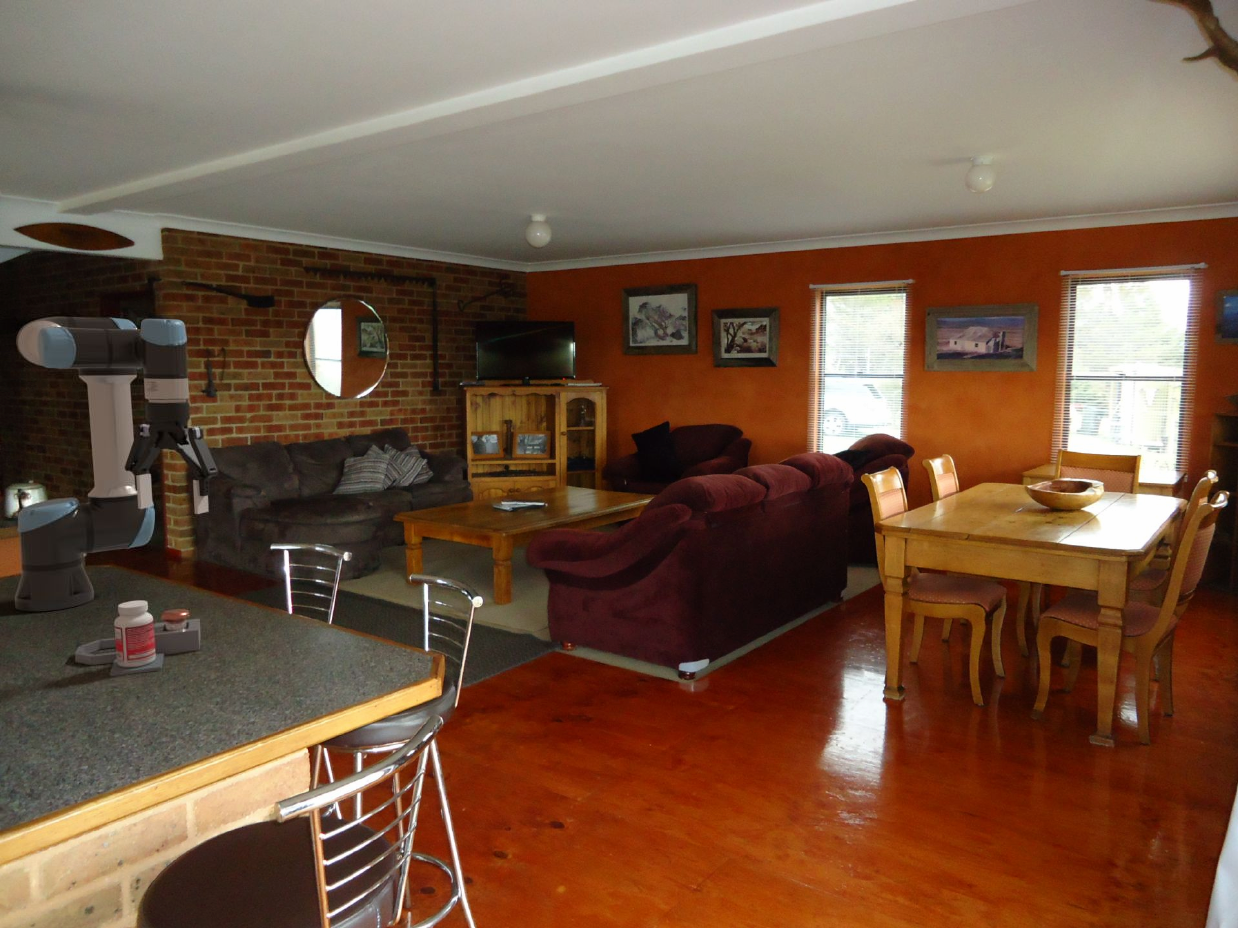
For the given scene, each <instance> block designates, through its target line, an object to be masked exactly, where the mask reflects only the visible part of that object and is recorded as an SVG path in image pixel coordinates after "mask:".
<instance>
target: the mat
mask: <svg viewBox="0 0 1238 928" xmlns="http://www.w3.org/2000/svg"><path fill="white" fill-rule="evenodd" d="M164 658H165V654H164V653H160V654H156V658H155V660H154V661H153V662H151V663H149V664H147V665H144V666H140V667H130V668H129V667H121V666H119V665H118V663H117V659H115V660H114V663H112V666H111V669H110V672H109V677H116V676H117V677H118V676H125V675H133V674H142V673H148V672H155V671H156V672H157V671H162V667H163V663H164Z"/></svg>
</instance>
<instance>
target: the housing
mask: <svg viewBox="0 0 1238 928" xmlns="http://www.w3.org/2000/svg"><path fill="white" fill-rule="evenodd" d="M200 621H201V619H200V618H191V619H186V626H187V629H180V630H171V631H166V625H165V621H163V622H156V623H154V622H153V624H154V639H155V653H156V654H160V653H164V655H171V654H172V655H173V654H180V653H189V652H195V651H200V648H201V639H202V636H201V622H200ZM112 648H116V638H115V637H112V638H111V637H109V638H102V639H97V640H94V641H91V642H88V643H86V644H82V645H79V646H78V647H77V649H76V650H75V652H74V658H75V659H74V661H75V663H78V664H85V665H90V666H96V665H102V664H103V665H104V664H113V663H114V660H115V659H117V653H116V651H115V652H107V653H97V654H93V653H94V652H96V651H100V650H104V649H112Z"/></svg>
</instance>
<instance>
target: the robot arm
mask: <svg viewBox="0 0 1238 928" xmlns="http://www.w3.org/2000/svg"><path fill="white" fill-rule="evenodd" d="M186 331H187V330H186V325H185V323H184V321H182V320H180V319H171V318H170V319H168V318H145V319H142V321H141V324H140V329H139V328H137V326H136V325H135V323H134V322H132V321H131V320H130V319H125V318H116V317H84V316H83V317H79V316H78V317H77V316H50V317H44V318H39V319H36V320H33V321H30V322H28V323H27V324H25V325H23V326H22V327H21V328H20V330H19V331H18V333H17V336H16V342H15V343H16V346H17V350H18V352H19V354H20V355H21V357H23V358H24V359H26V360H27V361H28V362H30V363H31V364H35V365H37V366H42V367H44V368H47V369H59V370H67V369H70V370H72V369H73V370H78V377H79V379H80V380H82V381H83V382H84V383H86V385H87V397H88V398H87V399H88V409H89V412H88V413H89V424H90V436H91V437H90V439H91V450H92V451H91V452H92V453H91V454H92V465H93V477H94V479H93V480H94V487H93V488H92V489H91V490H90V492H89V493H88V494H87V499H88V500H87V501H88V502H81V503H80V501H79V500H78V498H76V497H65V498H61V497H60V498H53V499H49V500H44V501H40V502H35V503H31V504H29V505H27V506H24V507H23V508H21V509H20V511H19V513H18V517H17V523H18V524H17V525H18V527H17V532H18V534H19V535H18V536H19V537H18V538H19V548H20V562H21V576H20V579H19V582H18V585H17V589H16V592H15V596H14V606H15V609H16V610H19V611H22V612H23V611H24V612H48V611H56V610H65V609H70V608H73V607H78V606H81V605H84V604H87V603H89V602H91V601H93V599H94V598H95V594H94V593H95V592H94V587H93V585H92V583H91V581H90V579H89V576H88V574H87V572H86V570H85V567H84V563H83V554H91V553H99V552H105V551H106V552H107V551H113V550H121V549H126V550H128V549H131V548H135V547H142V546H144V545H147V543H149V541H150V540H151V538H152V535H153V533H154V529H155V520H156V519H155V515H156V511H155V509H154V508H155V507H154V506H155V504H154V501H153V493H152V491H153V490H152V475H151V473H150V471H149V470H150V468H151V466H152V465H153V463H154V462H155V460H156V458H158V455H159V454H160V453H161V451H163V450H169V451H175V452H176V453H178V454H179V455H180V456H181V458H182V460H184V462H185V463H186V464H187V466H188V468H189V469H190V471H191V472H192V473H193V475H194V477H195V478H194V479H193V480H192V483H193V484H192V485H193V486H192V487H193V488H192V489H193V505H194V514H195V515H200V514H203V513H204V514H205V513H209V512H210V511H209V496H210V494H211V487H210V486H211V485H210V480H211V478H212V477H215V476H218V475H219V473H220V472H219V469H218V467H217V465H216V463H215V460H214V458H213V456H212V454H211V451H210V449H209V447H208V445H207V442H206V440H205V438H204V432H203V427H202V426H194V427H189V425H188V422H189V421H190V420H191V409H190V403H189V401H187V400H188V399H189V398H190V390H189V389H190V388H189V375H188V374H189V373H188V372H189V371H188V352H187V351H188V349H187V348H188V347H187V341H188V337H187V332H186ZM141 369H143V381H144V382H143V385H144V399H146V400H148V401H147V402H146V403H144V405H145V406H144V407H145V420H146V421H147V422H149V423H145V424H136V425H135V428H134V424H133V423H134V422H133V411H132V395H131V383H132V382H133V381H134V380H135V379H136V378H137V376H138V374H137V370H141ZM134 429H135V431H134ZM134 432H135V433H134ZM134 435H135V436H134Z"/></svg>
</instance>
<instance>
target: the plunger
mask: <svg viewBox="0 0 1238 928" xmlns="http://www.w3.org/2000/svg"><path fill="white" fill-rule="evenodd" d="M160 616H161V621H163V622H165V625H166V631H171V630H180V629H187V626H186V620H187V619H188V618H190V610H189V609H186V608H177V609H169V610H166V611H163V612H161V615H160Z"/></svg>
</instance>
